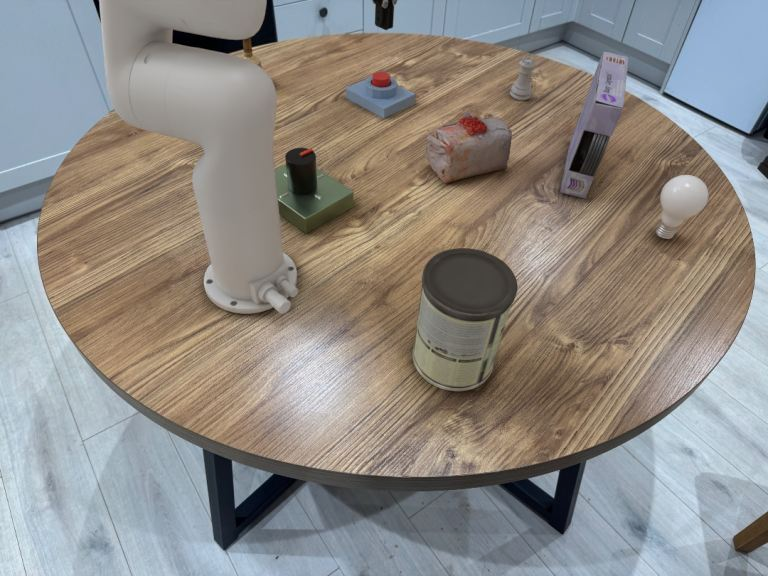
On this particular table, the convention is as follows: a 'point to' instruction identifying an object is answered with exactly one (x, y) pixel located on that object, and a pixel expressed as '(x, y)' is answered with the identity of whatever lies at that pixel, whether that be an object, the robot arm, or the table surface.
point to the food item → (469, 148)
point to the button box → (380, 97)
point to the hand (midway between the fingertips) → (383, 26)
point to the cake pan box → (595, 124)
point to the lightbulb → (680, 203)
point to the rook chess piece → (523, 80)
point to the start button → (381, 79)
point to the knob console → (312, 201)
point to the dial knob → (301, 170)
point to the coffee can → (462, 317)
